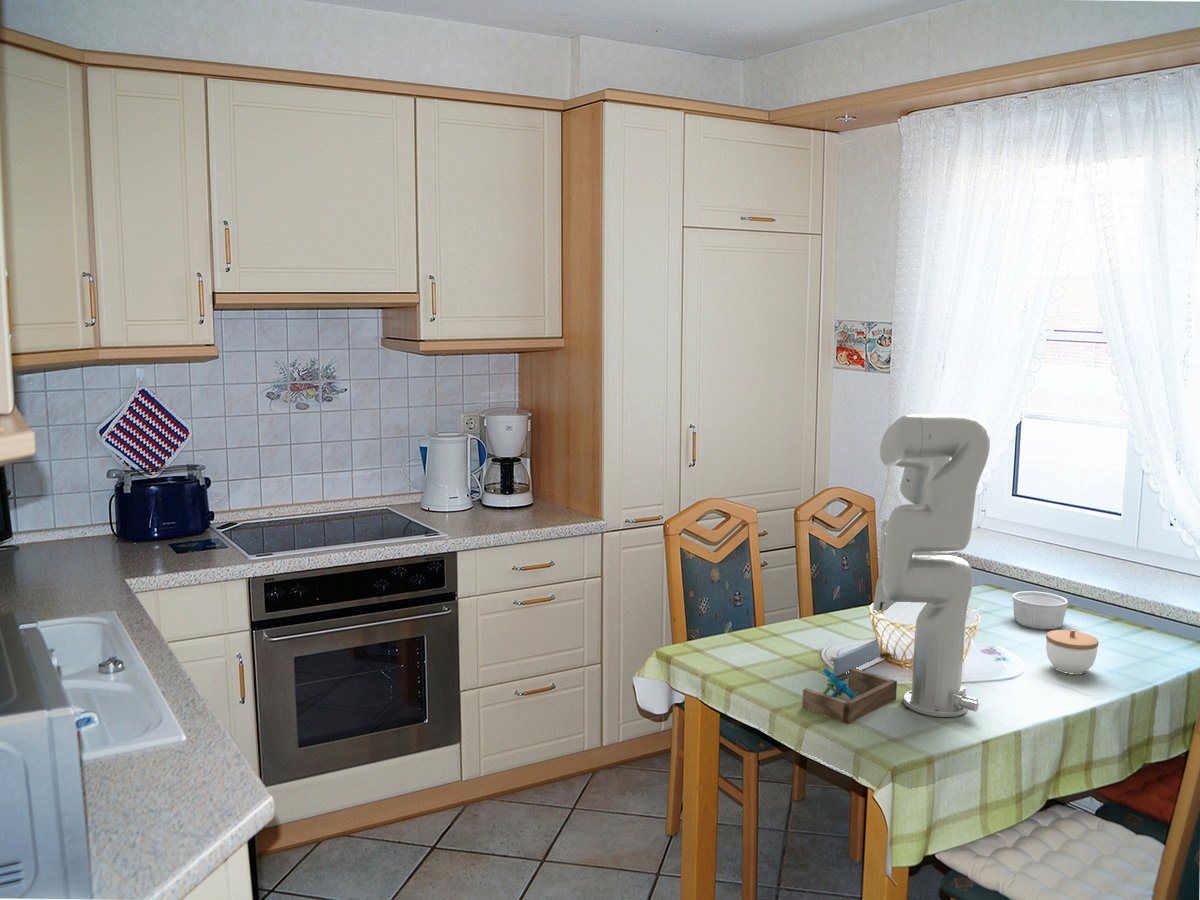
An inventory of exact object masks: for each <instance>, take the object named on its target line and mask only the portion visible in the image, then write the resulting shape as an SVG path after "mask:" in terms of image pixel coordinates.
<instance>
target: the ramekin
mask: <svg viewBox="0 0 1200 900" xmlns="http://www.w3.org/2000/svg"><path fill="white" fill-rule="evenodd" d="M1011 601H1012V602H1013V604H1012V605H1013V616H1014V617H1013V618H1014V620H1015V621H1016V623H1017V624H1019V625H1020V626H1023V625H1024V626H1023V627H1026V626H1027V628H1029V627H1031V628H1030V629H1035V628H1036V630H1044V629H1051V630H1056V629H1055V628H1057V629H1059V628H1060V627H1062V626H1063V623H1064V621H1065V616H1066V611H1067V607H1068V604H1069V602H1068V599H1067V598H1066V597H1063V596H1060V595H1057V594H1055V593H1049V592H1044V591H1043V592H1042V591H1034V590H1033V591H1032V590H1031V591H1030V590H1028V591H1025V590H1024V591H1017V592H1015V593H1013V594H1012V599H1011ZM1058 627H1059V628H1058Z"/></svg>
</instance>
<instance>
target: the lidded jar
mask: <svg viewBox="0 0 1200 900" xmlns="http://www.w3.org/2000/svg"><path fill="white" fill-rule="evenodd" d="M1045 638H1046V641H1045V644H1046V645H1045V647H1046V654H1047V655H1046V656H1047V658H1048V660H1049V663H1051V665H1052V666H1053V667H1054V668H1056V669H1058V670H1060V671H1062V672H1067V673H1073V674H1080V673H1084V674H1085V673H1086V672H1087V671H1088V670H1089V669H1090V668H1091V667H1093V665H1094V663H1095V660H1096V659H1097V654H1098V648H1099V647H1098V646H1099V639H1098V638H1096V637H1095V636H1093V635H1091V634H1088V633H1086V632H1082V631H1077V630H1075V629H1070V630H1069V629H1053V630H1050V631H1048V632H1047V633H1046V635H1045ZM1056 669H1055V670H1056ZM1062 672H1061V673H1062Z"/></svg>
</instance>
